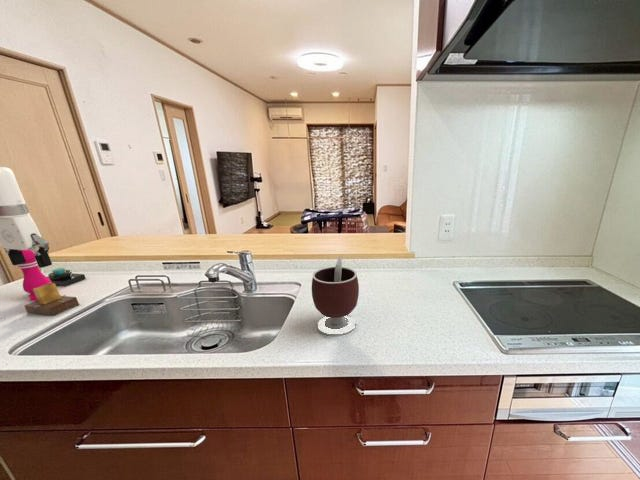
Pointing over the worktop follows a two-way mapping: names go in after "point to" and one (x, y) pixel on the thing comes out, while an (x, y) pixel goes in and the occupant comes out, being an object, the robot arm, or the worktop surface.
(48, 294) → the lock turn
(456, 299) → the worktop surface
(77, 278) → the doorbell
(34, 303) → the brown flat block
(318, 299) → the mate gourd
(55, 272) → the bell button
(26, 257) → the pepper mill
